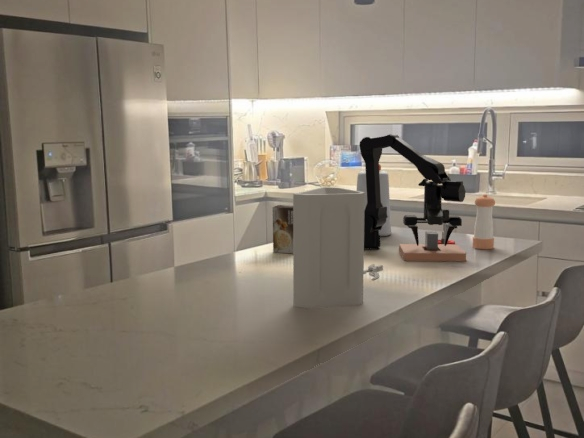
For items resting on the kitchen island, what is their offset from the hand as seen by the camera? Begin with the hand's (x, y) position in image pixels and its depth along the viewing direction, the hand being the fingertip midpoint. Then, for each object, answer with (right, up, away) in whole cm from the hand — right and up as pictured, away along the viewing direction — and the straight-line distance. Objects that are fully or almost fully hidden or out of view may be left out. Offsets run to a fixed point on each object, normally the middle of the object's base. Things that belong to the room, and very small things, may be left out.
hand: (431, 245), depth 224 cm
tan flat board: (0, -3, 0) cm, 4 cm away
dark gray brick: (0, -4, 0) cm, 4 cm away
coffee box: (-49, -3, +8) cm, 49 cm away
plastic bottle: (-15, +3, +45) cm, 47 cm away
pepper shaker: (+22, -1, +15) cm, 27 cm away
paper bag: (-36, -12, -54) cm, 66 cm away
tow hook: (+9, 0, +23) cm, 25 cm away
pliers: (-24, -8, -25) cm, 35 cm away
